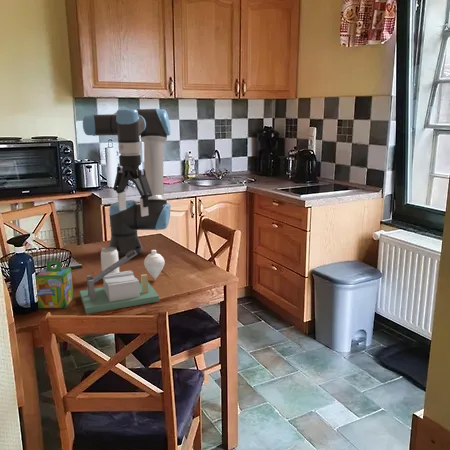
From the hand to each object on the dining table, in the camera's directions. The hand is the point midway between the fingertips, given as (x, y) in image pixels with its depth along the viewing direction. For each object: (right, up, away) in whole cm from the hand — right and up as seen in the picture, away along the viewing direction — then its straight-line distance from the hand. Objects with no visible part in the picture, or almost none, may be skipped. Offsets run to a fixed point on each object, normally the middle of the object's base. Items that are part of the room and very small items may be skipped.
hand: (133, 212), depth 171 cm
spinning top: (+7, -26, +8) cm, 28 cm away
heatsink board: (-3, -30, -9) cm, 31 cm away
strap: (-4, -19, -12) cm, 23 cm away
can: (-11, -25, +10) cm, 29 cm away
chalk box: (-24, -31, -12) cm, 41 cm away
